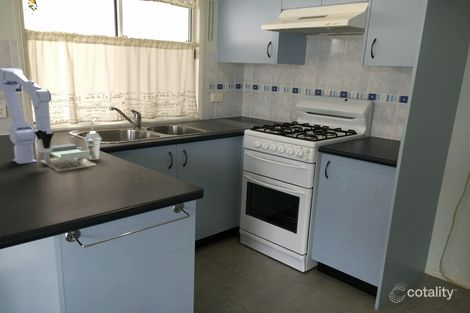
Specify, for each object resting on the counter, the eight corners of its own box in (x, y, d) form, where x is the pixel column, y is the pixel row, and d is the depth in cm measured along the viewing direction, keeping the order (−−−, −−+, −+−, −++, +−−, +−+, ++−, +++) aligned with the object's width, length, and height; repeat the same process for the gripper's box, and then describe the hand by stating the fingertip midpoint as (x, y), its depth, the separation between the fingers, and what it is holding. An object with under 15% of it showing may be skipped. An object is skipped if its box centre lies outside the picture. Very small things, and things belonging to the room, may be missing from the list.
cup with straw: (81, 159, 191) (78, 119, 186) (95, 155, 199) (93, 117, 194) (93, 161, 187) (91, 120, 182) (107, 157, 195) (105, 118, 190)
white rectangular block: (37, 151, 171) (36, 139, 170) (49, 149, 175) (48, 138, 173) (40, 152, 168) (39, 140, 167) (52, 151, 172) (51, 139, 171)
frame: (40, 161, 183) (39, 149, 181) (76, 156, 195) (76, 145, 194) (58, 171, 168) (57, 158, 166) (96, 165, 180) (96, 152, 179)
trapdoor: (45, 155, 184) (44, 146, 183) (72, 152, 193) (71, 143, 192) (62, 163, 169) (61, 154, 168) (90, 159, 178) (90, 150, 177)
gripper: (27, 116, 170) (30, 145, 173) (38, 119, 160) (41, 151, 163) (44, 115, 175) (46, 144, 178) (55, 118, 165) (58, 149, 168)
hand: (45, 147), depth 171 cm, fingers closed on white rectangular block, 4 cm apart
